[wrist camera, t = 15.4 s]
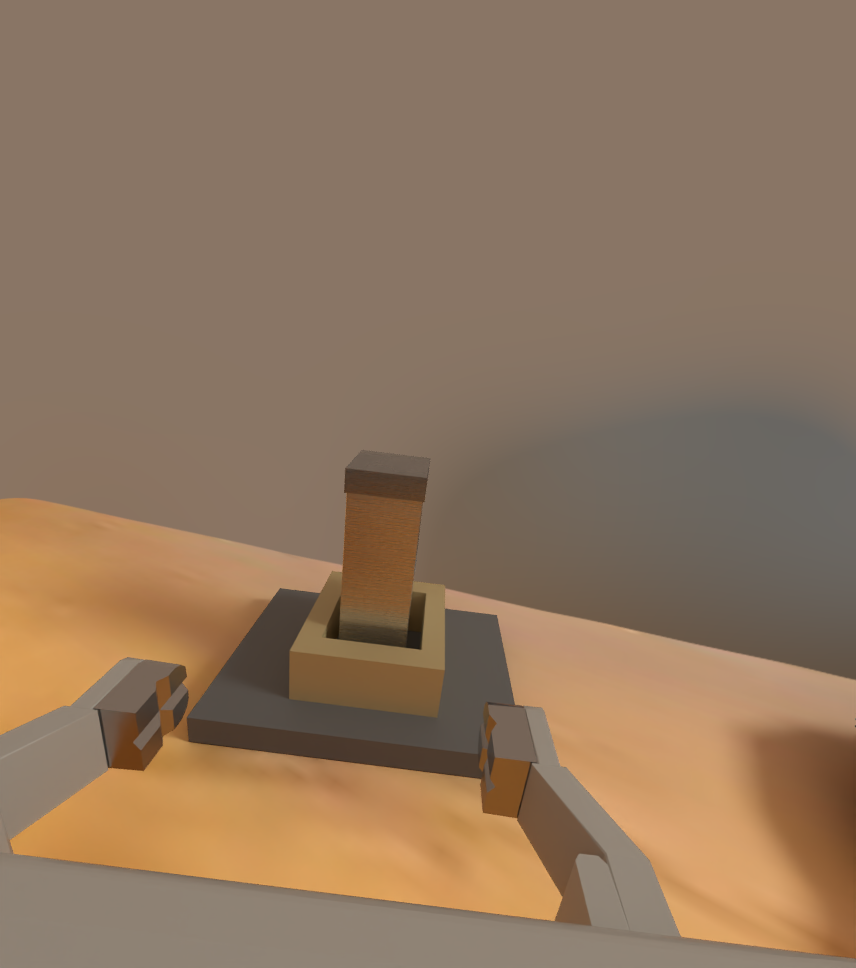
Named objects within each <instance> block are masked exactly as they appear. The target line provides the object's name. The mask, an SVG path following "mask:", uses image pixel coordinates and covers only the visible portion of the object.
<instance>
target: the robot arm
mask: <svg viewBox="0 0 856 968" xmlns="http://www.w3.org/2000/svg"><path fill="white" fill-rule="evenodd" d="M186 677H187V674H186V668H185V666H182V665H178V664H172V663H165V662H158V661H152V660H142V659H136V658H129V657H127V658H125V659H122V660H120V661H119V662H118V663H117V664H116V665H115V666H114V667H113V668H111V669H110V670H109V671H108V672H107V673H106V674H105V675H104V676H103V677H102V678H101V679H99V680H98V681H97V682H96V683H95V684H94V685H93V686H92V687H91V688H90V689H89V690H87V691H86V692H85V693H84V694H83V695H82V696H81V697H80V698H79V699H78V700H77V701H75V702H74V703H73V704H72V705H71V706H63V707H60V708H58V709H56V710H54V711H52V712H50V713H47V714H45V715H43V716H41V717H39V718H37V719H34V720H32V721H30V722H28V723H26V724H24V725H21V726H19V727H17V728H15V729H13V730H11V731H8V732H6V733H4V734H2V735H0V968H856V959H854V958H846V957H838V956H830V955H822V954H814V953H806V952H798V951H790V950H782V949H774V948H766V947H758V946H750V945H742V944H733V943H725V942H717V941H709V940H701V939H693V938H685V937H681V936H680V934H679V931H678V929H677V926H676V924H675V921H674V919H673V916H672V914H671V912H670V909H669V907H668V904H667V902H666V899H665V897H664V894H663V892H662V890H661V887H660V885H659V882H658V880H657V877H656V875H655V872H654V870H653V868H652V865H651V863H650V861H649V859H648V858H647V857H646V856H645V855H644V854H643V853H642V852H641V850H640V849H639V848H638V847H637V846H636V845H635V844H634V843H633V842H632V840H631V839H630V838H629V837H628V836H627V835H626V834H625V833H624V831H623V830H622V829H621V828H620V827H619V826H618V825H617V824H616V823H615V821H614V820H613V819H612V818H611V817H610V816H609V815H608V814H607V812H606V811H605V810H604V809H603V808H602V807H601V806H600V805H599V804H598V802H597V801H596V800H595V799H594V798H593V797H592V796H591V795H590V793H589V792H588V791H587V790H586V789H585V788H584V787H583V786H582V785H581V783H580V782H579V781H578V780H577V779H576V778H575V777H574V776H573V774H572V773H571V772H570V771H569V770H568V769H567V768H566V767H560V764H559V760H558V757H557V753H556V750H555V746H554V743H553V740H552V736H551V733H550V729H549V726H548V722H547V719H546V715H545V712H544V710H543V709H542V708H539V707H530V706H521V705H512V704H503V703H494V702H486V703H485V705H484V710H483V718H484V723H483V724H482V725H481V726H480V731H479V739H478V763H479V768H480V769H481V770H482V772H483V773H482V778H481V783H480V787H481V798H482V809H483V813H487V814H493V815H500V816H506V817H513V818H518V819H517V821H518V822H519V824H520V826H521V828H522V829H523V831H524V833H525V834H526V836H527V838H528V839H529V841H530V843H531V844H532V846H533V848H534V850H535V851H536V853H537V855H538V856H539V858H540V860H541V861H542V863H543V865H544V866H545V868H546V870H547V872H548V873H549V875H550V877H551V878H552V880H553V882H554V883H555V885H556V887H557V888H558V890H559V892H560V894H561V895H562V897H563V898H562V901H561V904H560V907H559V910H558V913H557V916H556V919H555V921H549V920H541V919H533V918H525V917H517V916H509V915H500V914H492V913H484V912H476V911H468V910H460V909H452V908H444V907H436V906H428V905H420V904H412V903H404V902H396V901H388V900H380V899H372V898H364V897H356V896H348V895H340V894H331V893H323V892H315V891H307V890H299V889H291V888H283V887H275V886H267V885H259V884H251V883H243V882H235V881H227V880H219V879H211V878H202V877H194V876H186V875H178V874H170V873H162V872H154V871H146V870H138V869H130V868H122V867H114V866H106V865H98V864H90V863H82V862H74V861H66V860H58V859H50V858H42V857H34V856H26V855H18V854H14V853H13V850H12V847H11V843H10V839H12V838H13V837H15V836H16V835H18V834H19V833H20V832H22V831H23V830H25V829H26V828H27V827H29V826H30V825H32V824H33V823H34V822H36V821H37V820H39V819H40V818H41V817H43V816H44V815H46V814H47V813H48V812H50V811H51V810H53V809H54V808H56V807H57V806H58V805H60V804H61V803H63V802H64V801H65V800H67V799H68V798H70V797H71V796H72V795H74V794H75V793H77V792H78V791H79V790H81V789H82V788H84V787H85V786H86V785H88V784H89V783H91V782H92V781H94V780H95V779H96V778H98V777H99V776H101V775H102V774H103V773H105V772H106V771H108V768H115V769H127V770H138V771H144V770H145V769H146V767H147V766H148V765H149V763H150V762H151V761H152V759H153V758H154V757H155V755H156V754H157V752H158V751H159V750H160V748H161V747H162V746H163V736H164V735H166V734H168V733H169V732H171V731H173V730H174V729H175V728H176V726H177V725H178V724H179V722H180V721H181V719H182V717H183V715H184V713H185V710H186V708H187V704H188V698H189V697H188V689H187V688H186V687H185V686H184V685H183V683H182V682H183V681H184V680H185V678H186Z"/></svg>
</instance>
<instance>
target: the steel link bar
mask: <svg viewBox="0 0 856 968" xmlns="http://www.w3.org/2000/svg"><path fill="white" fill-rule="evenodd" d="M429 464H430V459H429V458H423V457H414V456H406V455H398V454H389V453H382V452H373V451H364V450H362V451H361V452H360V453H359V454H358V455H357V456H356V457H355V458H354V459H353V460H352V462H351V463H350V464H349V465H348V466H347V467H346V468H345V488H344V493H347V498H346V516H345V533H344V552H343V570H342V588H341V606H340V624H339V640H346V641H354V642H362V643H370V644H378V645H386V646H394V647H402V648H406V643H407V635H408V626H409V618H410V609H411V601H412V592H413V584H414V575H415V566H416V559H417V550H418V542H419V532H420V525H421V516H422V508H423V502H424V500H425V494H426V487H427V481H428V473H429Z"/></svg>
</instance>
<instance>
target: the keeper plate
mask: <svg viewBox="0 0 856 968" xmlns="http://www.w3.org/2000/svg"><path fill="white" fill-rule="evenodd" d="M341 588H342V572H334V571H332V573H331V574H330V576H329V578H328V580H327V582H326V584H325V586H324V587H323V589H322V591H321V593H313V592H305V591H297V590H289V589H281V588H280V589H279V591H278V592H277V593H276V595H275V596H274V597H273V599H272V600H271V602H270V603H269V604H268V606H267V607H266V609H265V610H264V611H263V613H262V614H261V615H260V617H259V618H258V620H257V621H256V622H255V624H254V625H253V627H252V628H251V629H250V631H249V632H248V633H247V635H246V636H245V638H244V639H243V640H242V642H241V643H240V645H239V646H238V647H237V649H236V650H235V651H234V653H233V654H232V656H231V657H230V658H229V660H228V661H227V663H226V664H225V665H224V667H223V668H222V669H221V671H220V672H219V674H218V675H217V676H216V678H215V679H214V681H213V682H212V683H211V685H210V686H209V687H208V689H207V690H206V692H205V693H204V694H203V696H202V697H201V699H200V700H199V701H198V703H197V704H196V705H195V707H194V708H193V710H192V711H191V712H190V714H189V715H188V717H187V726H188V737H189V742H196V743H204V744H212V745H220V746H228V747H236V748H244V749H252V750H260V751H268V752H275V753H283V754H291V755H299V756H307V757H315V758H323V759H331V760H339V761H347V762H355V763H363V764H370V765H378V766H386V767H394V768H402V769H410V770H418V771H426V772H434V773H442V774H450V775H458V776H465V777H473V778H482V773H483V772H482V770H481V769H480V768H479V763H478V739H479V731H480V726H481V725H482V724H483V723H484V718H483V710H484V705H485V703H486V702H494V703H503V704H512V705H515V703H514V698H513V693H512V688H511V683H510V678H509V673H508V668H507V663H506V658H505V653H504V648H503V643H502V638H501V633H500V628H499V624H498V619H497V615H491V614H483V613H475V612H467V611H458V610H450V609H445V585H439V584H431V583H423V582H415V581H414V584H413V592H412V601H411V609H410V618H409V626H408V635H407V643H406V648H402V647H394V646H386V645H378V644H370V643H362V642H354V641H346V640H339V624H340V606H341Z"/></svg>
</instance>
